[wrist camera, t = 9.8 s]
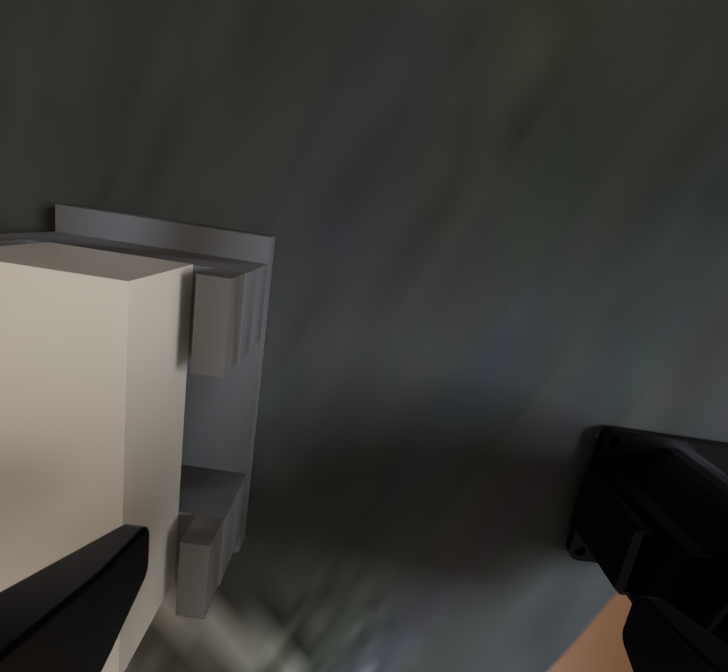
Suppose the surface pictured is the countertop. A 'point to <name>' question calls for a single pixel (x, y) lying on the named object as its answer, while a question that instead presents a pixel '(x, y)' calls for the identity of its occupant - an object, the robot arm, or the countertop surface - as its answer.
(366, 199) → the countertop surface
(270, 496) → the countertop surface
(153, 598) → the clay block
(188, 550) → the dark grey angular piece
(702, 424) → the countertop surface
